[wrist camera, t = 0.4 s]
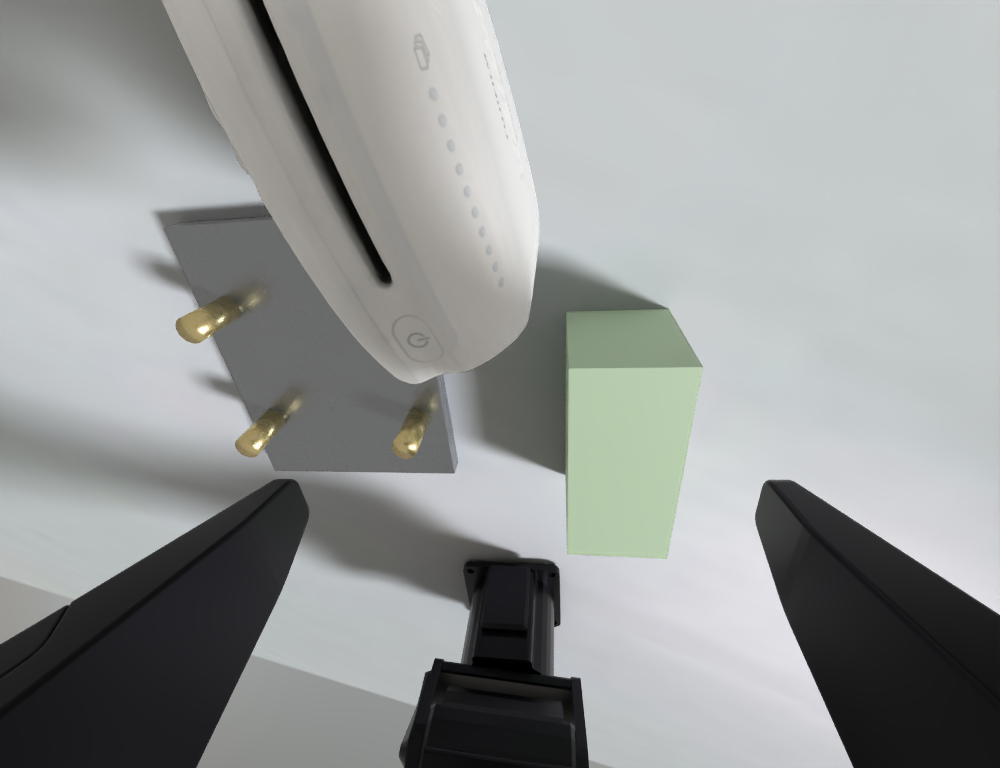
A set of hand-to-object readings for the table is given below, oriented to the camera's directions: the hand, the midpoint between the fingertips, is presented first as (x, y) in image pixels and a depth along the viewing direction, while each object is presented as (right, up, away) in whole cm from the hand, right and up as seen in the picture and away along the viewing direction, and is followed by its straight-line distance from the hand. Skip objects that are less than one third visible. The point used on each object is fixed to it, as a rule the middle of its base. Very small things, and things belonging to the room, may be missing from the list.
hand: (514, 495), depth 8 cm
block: (+5, +1, +14) cm, 15 cm away
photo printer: (-2, +12, +8) cm, 15 cm away
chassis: (-9, +4, +14) cm, 17 cm away
